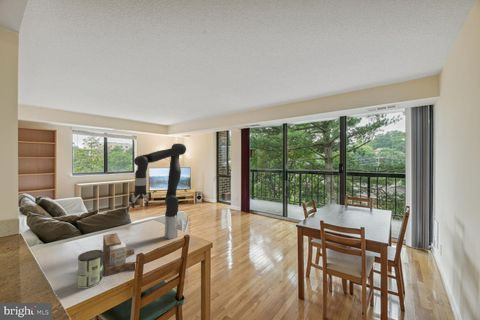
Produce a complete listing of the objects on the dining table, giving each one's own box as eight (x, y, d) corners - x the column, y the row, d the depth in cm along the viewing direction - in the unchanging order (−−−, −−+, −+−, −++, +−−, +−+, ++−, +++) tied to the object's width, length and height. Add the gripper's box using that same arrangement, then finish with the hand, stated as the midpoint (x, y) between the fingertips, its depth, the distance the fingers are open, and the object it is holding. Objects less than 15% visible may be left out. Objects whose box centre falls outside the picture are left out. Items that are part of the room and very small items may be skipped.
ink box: (108, 270, 116) (109, 249, 116) (106, 264, 122) (107, 244, 122) (126, 266, 121) (126, 246, 121) (123, 260, 128) (123, 241, 128)
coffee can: (90, 275, 110) (90, 248, 110) (107, 277, 109) (108, 250, 109) (71, 287, 100) (72, 257, 100) (90, 290, 99) (91, 260, 99)
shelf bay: (133, 253, 137) (134, 228, 137) (142, 268, 119) (143, 240, 119) (101, 260, 127) (102, 233, 127) (106, 278, 108) (107, 247, 108)
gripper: (149, 183, 155) (149, 205, 155) (128, 184, 146) (127, 207, 146) (152, 184, 149) (152, 207, 149) (130, 185, 140) (130, 209, 140)
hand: (140, 207), depth 148 cm, fingers open, 8 cm apart
